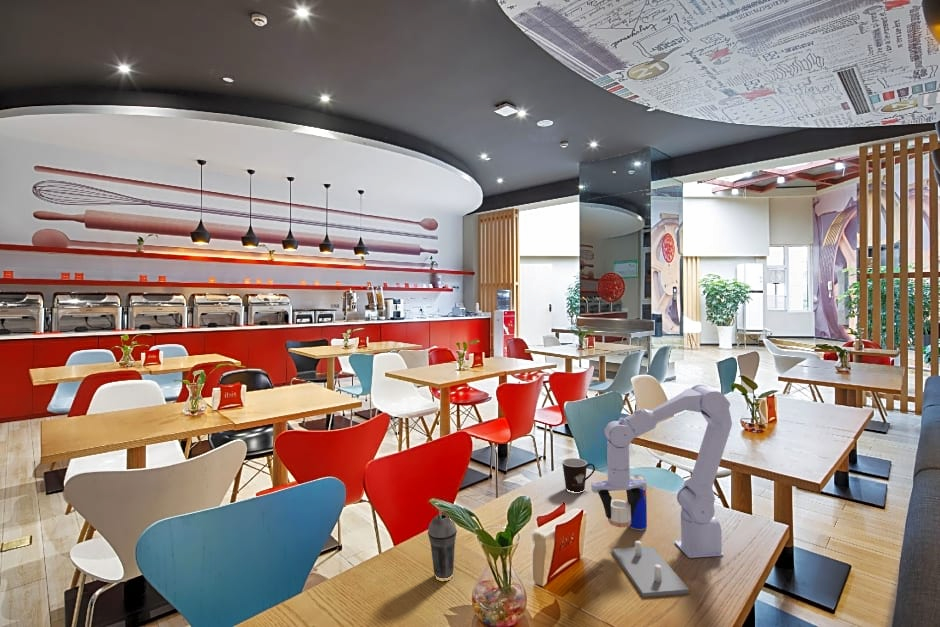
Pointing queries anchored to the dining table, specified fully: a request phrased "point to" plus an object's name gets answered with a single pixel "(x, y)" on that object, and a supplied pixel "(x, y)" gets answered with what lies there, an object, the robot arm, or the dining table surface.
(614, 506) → the sleeve
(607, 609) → the dining table surface
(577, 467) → the coffee mug
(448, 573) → the beverage cup
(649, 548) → the pin board
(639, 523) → the beverage can
